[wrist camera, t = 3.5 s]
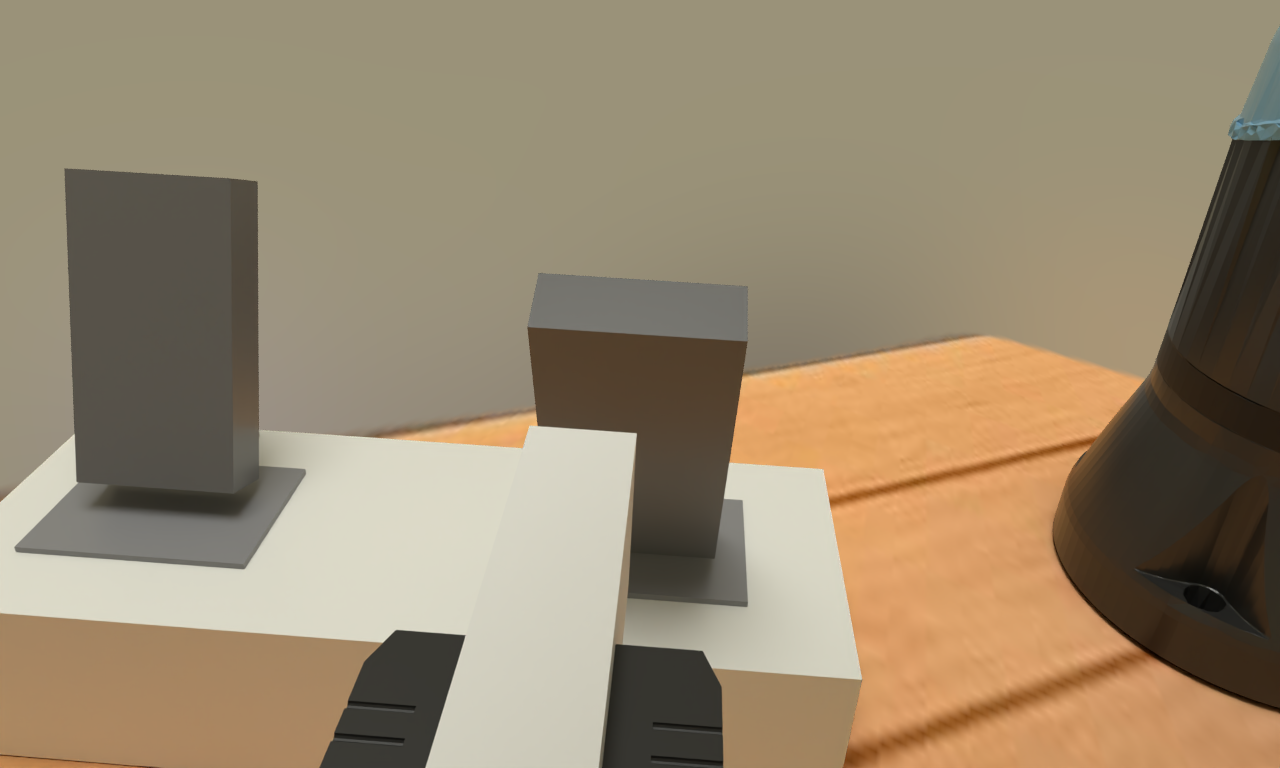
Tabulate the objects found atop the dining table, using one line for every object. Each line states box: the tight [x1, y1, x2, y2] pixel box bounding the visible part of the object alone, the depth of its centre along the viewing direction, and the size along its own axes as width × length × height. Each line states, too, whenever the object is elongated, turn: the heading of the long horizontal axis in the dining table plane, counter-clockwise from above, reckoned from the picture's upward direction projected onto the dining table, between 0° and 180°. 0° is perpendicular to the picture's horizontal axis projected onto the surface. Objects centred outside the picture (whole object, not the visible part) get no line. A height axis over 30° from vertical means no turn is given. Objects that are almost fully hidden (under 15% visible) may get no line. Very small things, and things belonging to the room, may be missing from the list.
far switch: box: [65, 169, 259, 494], centre depth 30 cm, size 5×2×10 cm, turn 86°
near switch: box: [528, 273, 748, 559], centre depth 26 cm, size 5×2×10 cm, turn 86°
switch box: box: [0, 430, 862, 768], centre depth 32 cm, size 27×10×6 cm, turn 86°
